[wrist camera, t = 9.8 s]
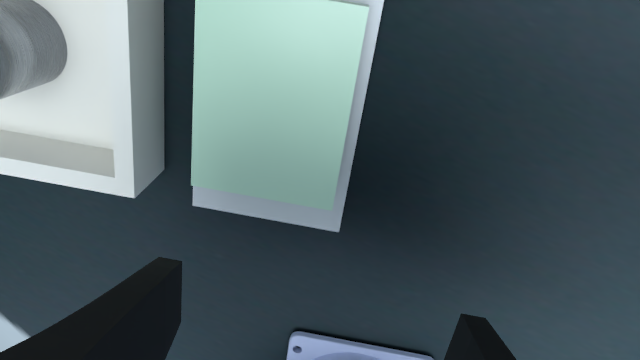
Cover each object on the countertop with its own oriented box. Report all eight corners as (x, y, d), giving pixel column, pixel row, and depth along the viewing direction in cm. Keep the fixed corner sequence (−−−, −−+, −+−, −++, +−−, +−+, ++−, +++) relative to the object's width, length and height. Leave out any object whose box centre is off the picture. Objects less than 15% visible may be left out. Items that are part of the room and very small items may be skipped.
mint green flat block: (334, 199, 20) (332, 211, 19) (199, 175, 20) (190, 185, 19) (369, 4, 16) (369, 7, 15) (205, -23, 16) (196, -22, 15)
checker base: (340, 223, 22) (338, 236, 21) (198, 197, 22) (189, 209, 21) (393, -54, 17) (395, -55, 16) (207, -84, 17) (196, -88, 16)
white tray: (164, 169, 22) (134, 198, 19) (-69, 127, 22) (-130, 149, 19) (163, -55, 17) (124, -60, 15) (-124, -103, 18) (-213, -115, 15)
